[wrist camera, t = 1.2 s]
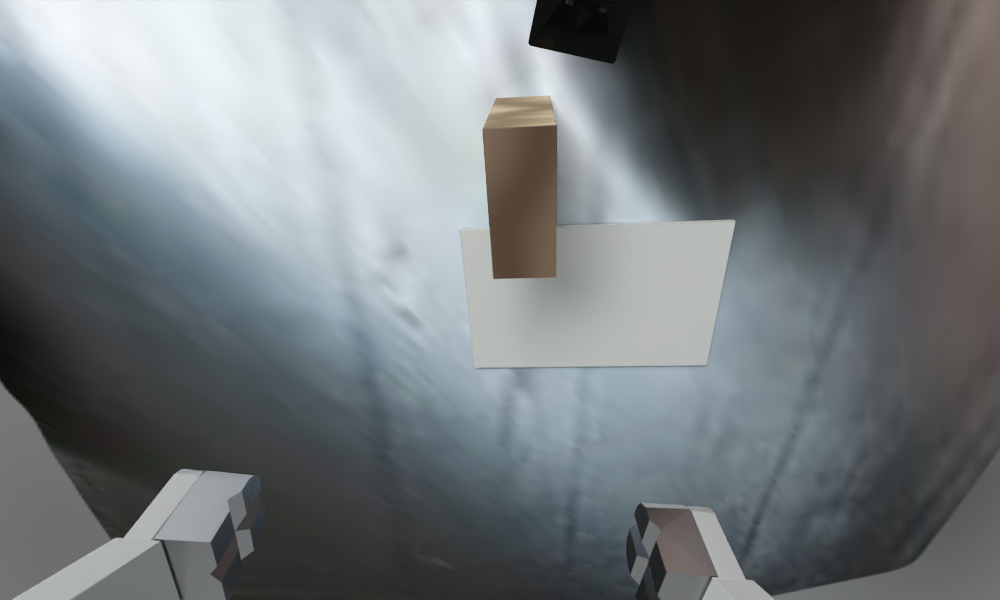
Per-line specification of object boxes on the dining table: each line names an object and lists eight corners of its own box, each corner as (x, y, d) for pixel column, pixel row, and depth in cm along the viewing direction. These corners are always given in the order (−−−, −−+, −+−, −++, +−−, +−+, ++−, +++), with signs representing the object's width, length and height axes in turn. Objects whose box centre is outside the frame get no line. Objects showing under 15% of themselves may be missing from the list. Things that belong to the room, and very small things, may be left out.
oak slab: (549, 95, 31) (556, 126, 22) (549, 212, 35) (556, 277, 27) (496, 98, 32) (482, 129, 23) (502, 214, 36) (493, 279, 27)
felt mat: (733, 219, 35) (735, 221, 34) (705, 362, 41) (706, 365, 41) (460, 228, 36) (459, 230, 36) (474, 365, 43) (474, 367, 43)
